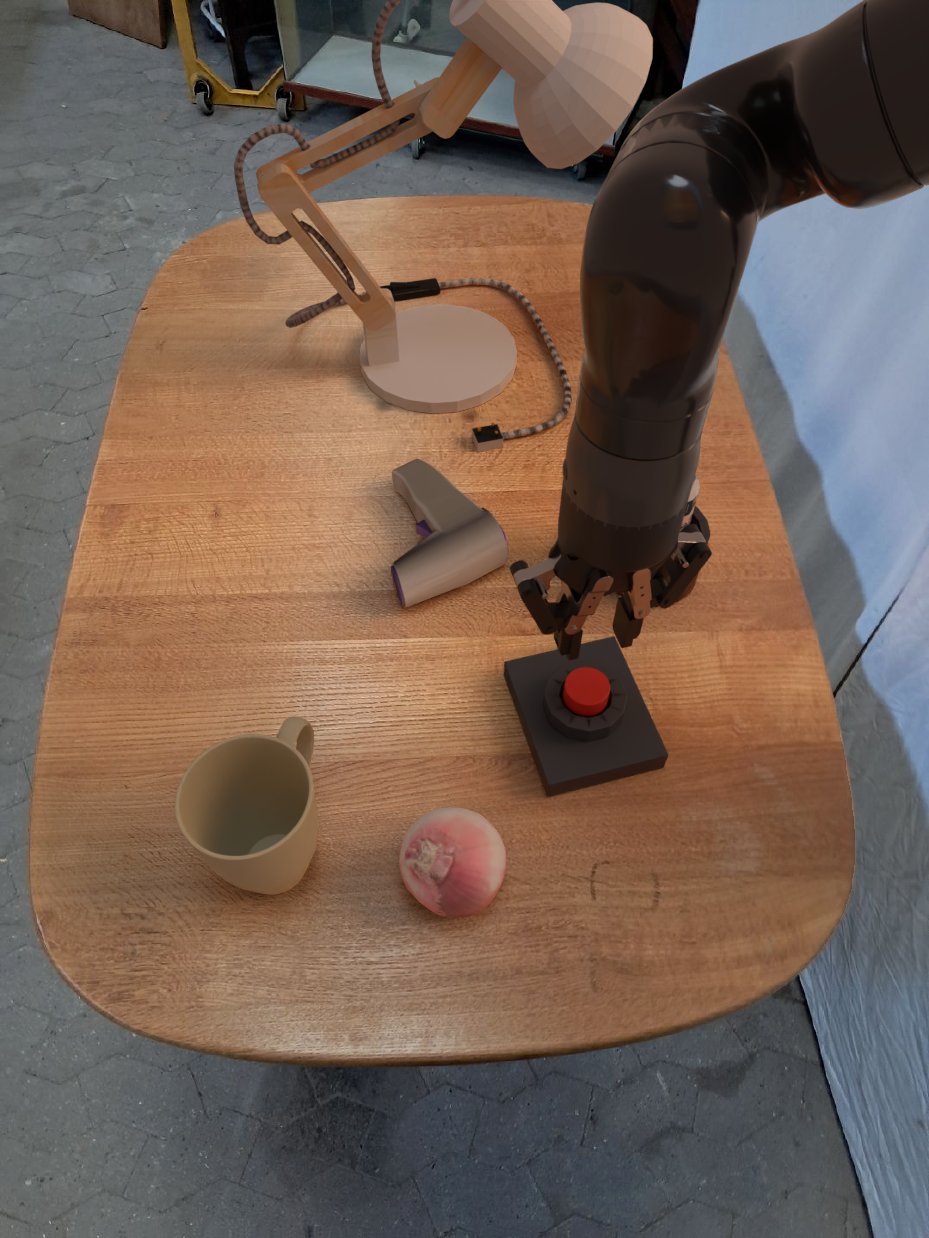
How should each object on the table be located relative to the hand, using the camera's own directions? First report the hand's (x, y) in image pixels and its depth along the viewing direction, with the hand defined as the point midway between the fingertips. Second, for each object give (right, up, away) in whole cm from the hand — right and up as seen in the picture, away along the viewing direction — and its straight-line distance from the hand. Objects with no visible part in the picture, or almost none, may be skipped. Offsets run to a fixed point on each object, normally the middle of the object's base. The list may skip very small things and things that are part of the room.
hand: (595, 643), depth 67 cm
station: (0, -7, +9) cm, 11 cm away
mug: (-24, -16, +2) cm, 29 cm away
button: (0, -5, +6) cm, 8 cm away
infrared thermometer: (-14, +9, +21) cm, 27 cm away
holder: (+8, +6, +19) cm, 21 cm away
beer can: (+8, +7, +18) cm, 21 cm away
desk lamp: (-12, +31, +37) cm, 50 cm away
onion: (-11, -18, +1) cm, 21 cm away
